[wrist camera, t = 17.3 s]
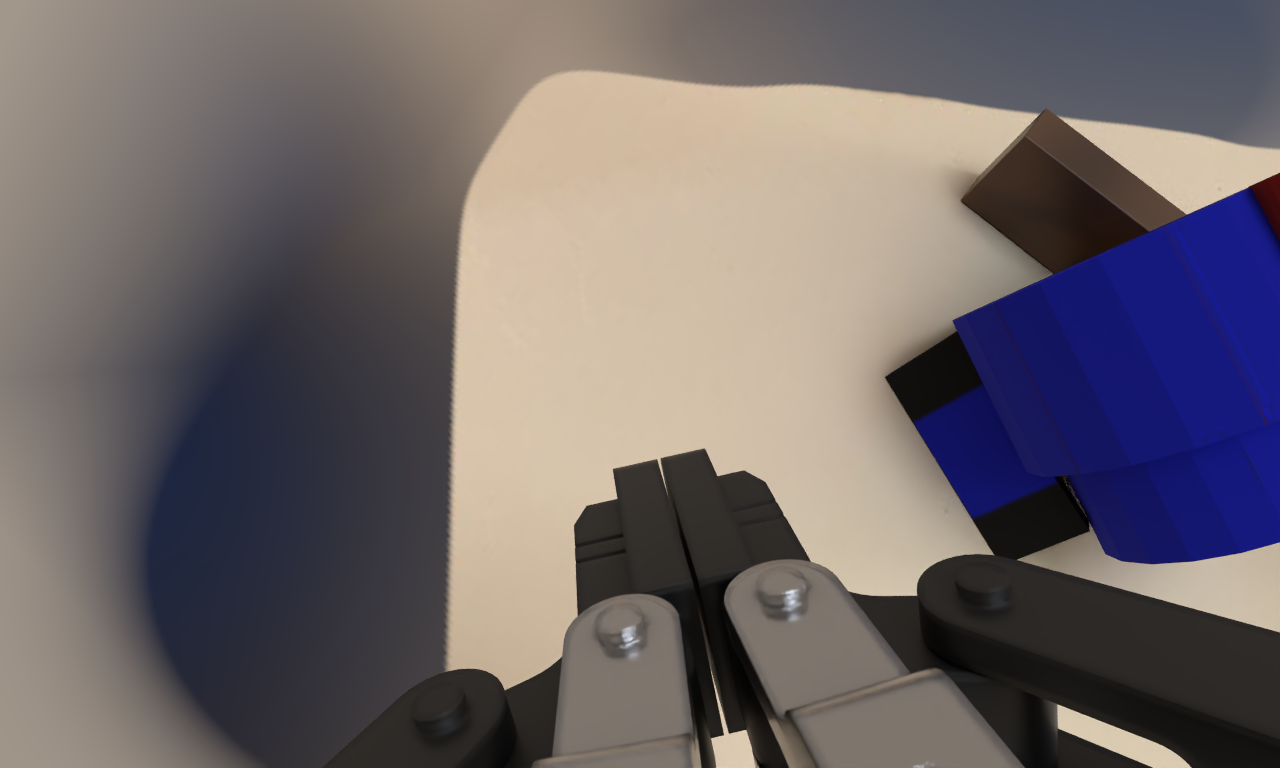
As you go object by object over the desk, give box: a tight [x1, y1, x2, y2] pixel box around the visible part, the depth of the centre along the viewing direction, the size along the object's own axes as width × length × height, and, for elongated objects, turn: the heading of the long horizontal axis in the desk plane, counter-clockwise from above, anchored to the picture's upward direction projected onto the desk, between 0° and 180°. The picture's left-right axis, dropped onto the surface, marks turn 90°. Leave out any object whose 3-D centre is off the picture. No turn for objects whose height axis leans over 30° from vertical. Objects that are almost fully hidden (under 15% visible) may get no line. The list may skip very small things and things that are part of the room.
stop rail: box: [961, 109, 1186, 274], centre depth 37 cm, size 20×2×5 cm, turn 51°
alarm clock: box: [885, 173, 1280, 564], centre depth 29 cm, size 12×12×15 cm
